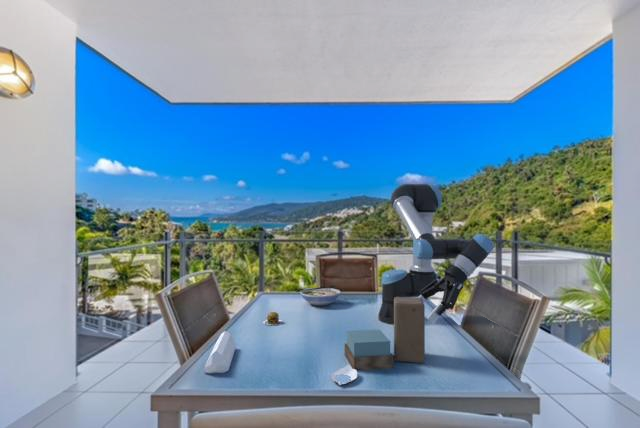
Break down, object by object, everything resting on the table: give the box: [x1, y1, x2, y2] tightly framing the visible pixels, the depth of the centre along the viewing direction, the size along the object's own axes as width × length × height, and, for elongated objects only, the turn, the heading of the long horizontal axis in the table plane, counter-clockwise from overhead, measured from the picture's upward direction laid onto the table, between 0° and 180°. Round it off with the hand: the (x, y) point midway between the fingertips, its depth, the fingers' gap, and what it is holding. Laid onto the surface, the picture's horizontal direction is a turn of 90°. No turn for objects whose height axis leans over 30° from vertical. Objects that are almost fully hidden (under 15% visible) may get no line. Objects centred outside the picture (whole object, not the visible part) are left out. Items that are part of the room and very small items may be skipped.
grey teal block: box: [346, 329, 391, 357], centre depth 119 cm, size 12×12×4 cm
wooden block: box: [393, 297, 426, 364], centre depth 123 cm, size 10×10×20 cm
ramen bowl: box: [297, 285, 341, 307], centre depth 198 cm, size 25×23×8 cm
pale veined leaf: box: [330, 362, 358, 386], centre depth 106 cm, size 8×12×2 cm, turn 162°
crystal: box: [203, 330, 237, 374], centre depth 120 cm, size 7×7×24 cm
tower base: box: [344, 343, 394, 372], centre depth 119 cm, size 13×13×4 cm
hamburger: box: [263, 311, 284, 326], centre depth 163 cm, size 12×12×6 cm
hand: (420, 315), depth 122 cm, fingers open, 13 cm apart
